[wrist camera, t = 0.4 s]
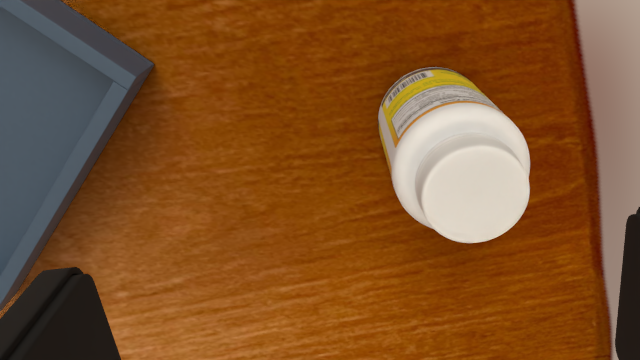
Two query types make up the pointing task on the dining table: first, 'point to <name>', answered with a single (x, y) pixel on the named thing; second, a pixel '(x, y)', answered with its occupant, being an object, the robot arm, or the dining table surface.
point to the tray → (53, 119)
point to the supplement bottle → (453, 156)
